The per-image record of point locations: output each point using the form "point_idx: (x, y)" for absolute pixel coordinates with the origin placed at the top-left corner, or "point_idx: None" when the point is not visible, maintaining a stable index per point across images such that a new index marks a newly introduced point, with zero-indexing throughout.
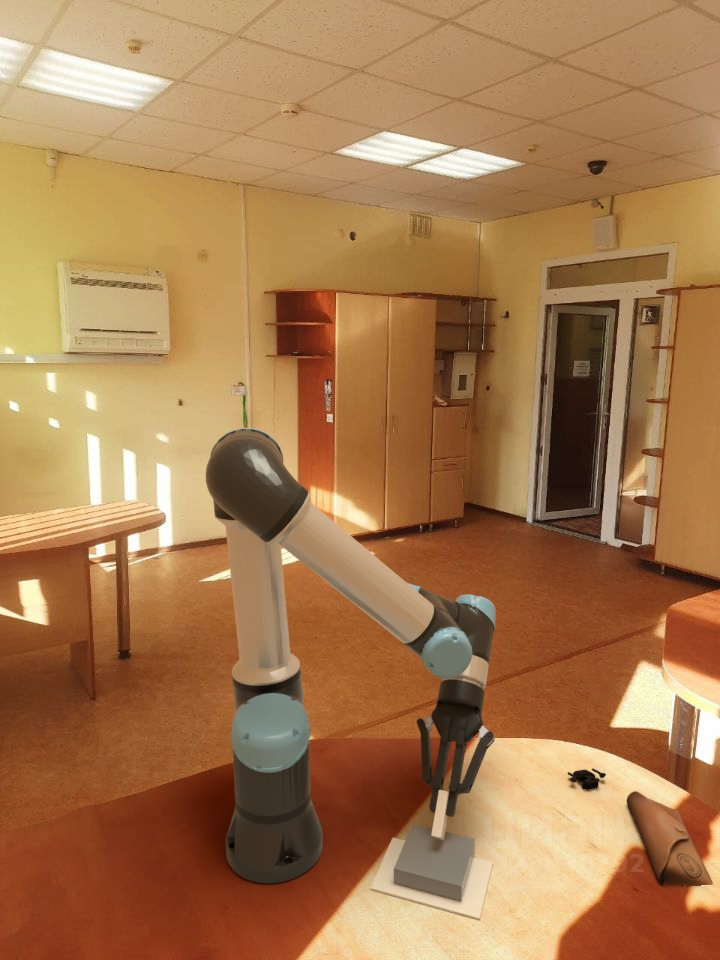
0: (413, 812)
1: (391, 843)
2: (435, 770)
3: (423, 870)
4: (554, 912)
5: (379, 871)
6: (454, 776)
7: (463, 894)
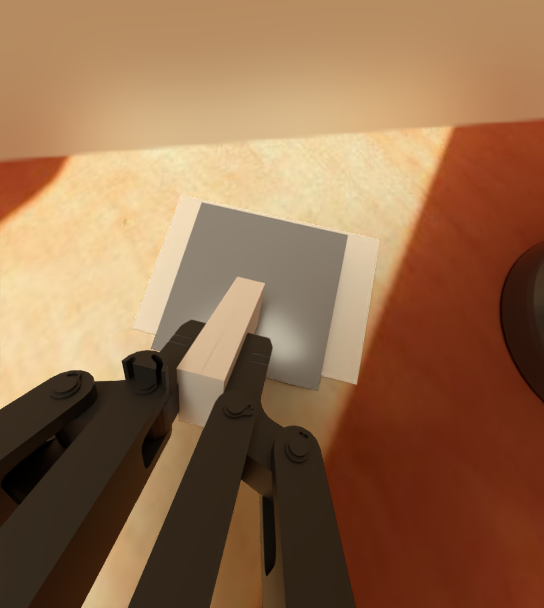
0: None
1: (357, 363)
2: (233, 498)
3: (282, 236)
4: (46, 223)
5: (370, 279)
6: (102, 445)
7: None
